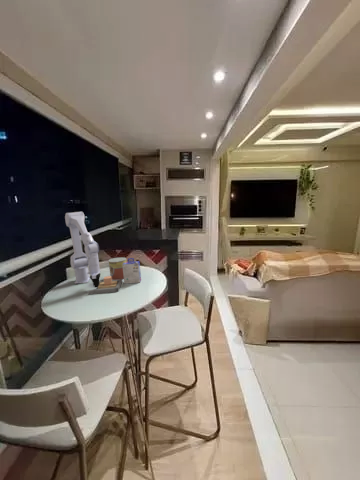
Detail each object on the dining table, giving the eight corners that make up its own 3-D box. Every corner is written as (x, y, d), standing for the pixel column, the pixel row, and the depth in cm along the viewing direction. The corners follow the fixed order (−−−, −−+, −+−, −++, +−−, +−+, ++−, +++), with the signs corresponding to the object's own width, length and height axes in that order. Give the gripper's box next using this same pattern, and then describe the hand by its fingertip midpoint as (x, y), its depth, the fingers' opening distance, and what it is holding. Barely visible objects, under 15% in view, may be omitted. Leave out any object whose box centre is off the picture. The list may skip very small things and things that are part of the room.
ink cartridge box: (141, 279, 160) (139, 257, 157) (140, 282, 154) (138, 259, 152) (125, 280, 159) (123, 258, 157) (124, 284, 154) (121, 260, 151)
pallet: (100, 286, 153) (100, 282, 153) (117, 284, 154) (117, 280, 154) (98, 291, 145) (97, 287, 145) (116, 289, 147) (115, 285, 146)
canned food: (107, 277, 168) (105, 260, 165) (122, 273, 175) (120, 256, 173) (115, 281, 159) (113, 262, 157) (131, 276, 167) (129, 258, 164)
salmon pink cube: (105, 283, 151) (104, 276, 150) (112, 282, 152) (111, 275, 151) (104, 285, 147) (103, 278, 147) (111, 284, 148) (110, 278, 147)
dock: (95, 283, 157) (95, 280, 157) (122, 281, 158) (122, 278, 158) (87, 295, 140) (87, 291, 140) (117, 292, 141) (117, 288, 141)
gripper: (87, 261, 152) (90, 283, 155) (84, 268, 138) (87, 292, 141) (100, 260, 154) (102, 282, 156) (98, 266, 140) (101, 290, 142)
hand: (96, 286), depth 149 cm, fingers closed
